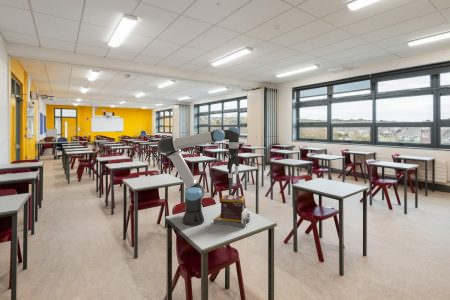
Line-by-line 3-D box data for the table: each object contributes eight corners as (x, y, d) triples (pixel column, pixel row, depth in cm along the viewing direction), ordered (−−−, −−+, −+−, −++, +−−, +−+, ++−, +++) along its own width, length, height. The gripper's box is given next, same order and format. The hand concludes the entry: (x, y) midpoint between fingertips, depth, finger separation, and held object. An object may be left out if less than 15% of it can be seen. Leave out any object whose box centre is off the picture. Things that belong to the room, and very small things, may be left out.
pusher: (241, 225, 165) (241, 213, 164) (246, 220, 175) (246, 207, 174) (247, 226, 163) (248, 214, 162) (252, 221, 173) (252, 208, 173)
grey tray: (213, 222, 172) (213, 214, 171) (220, 216, 184) (220, 208, 183) (244, 228, 163) (244, 219, 163) (249, 221, 175) (249, 213, 174)
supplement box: (242, 222, 166) (242, 200, 165) (220, 220, 169) (220, 198, 168) (244, 216, 176) (244, 196, 175) (223, 215, 180) (223, 194, 178)
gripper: (232, 149, 167) (232, 179, 170) (243, 146, 191) (243, 173, 193) (222, 149, 170) (222, 178, 172) (234, 146, 193) (234, 172, 195)
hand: (233, 176), depth 183 cm, fingers open, 13 cm apart
